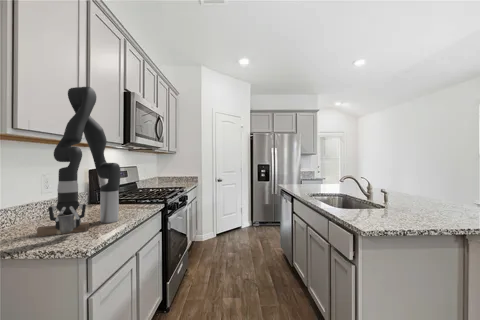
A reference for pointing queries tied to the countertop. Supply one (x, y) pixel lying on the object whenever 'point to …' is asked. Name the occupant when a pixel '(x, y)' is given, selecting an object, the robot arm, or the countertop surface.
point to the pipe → (67, 222)
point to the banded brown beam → (52, 230)
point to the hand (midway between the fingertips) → (67, 228)
